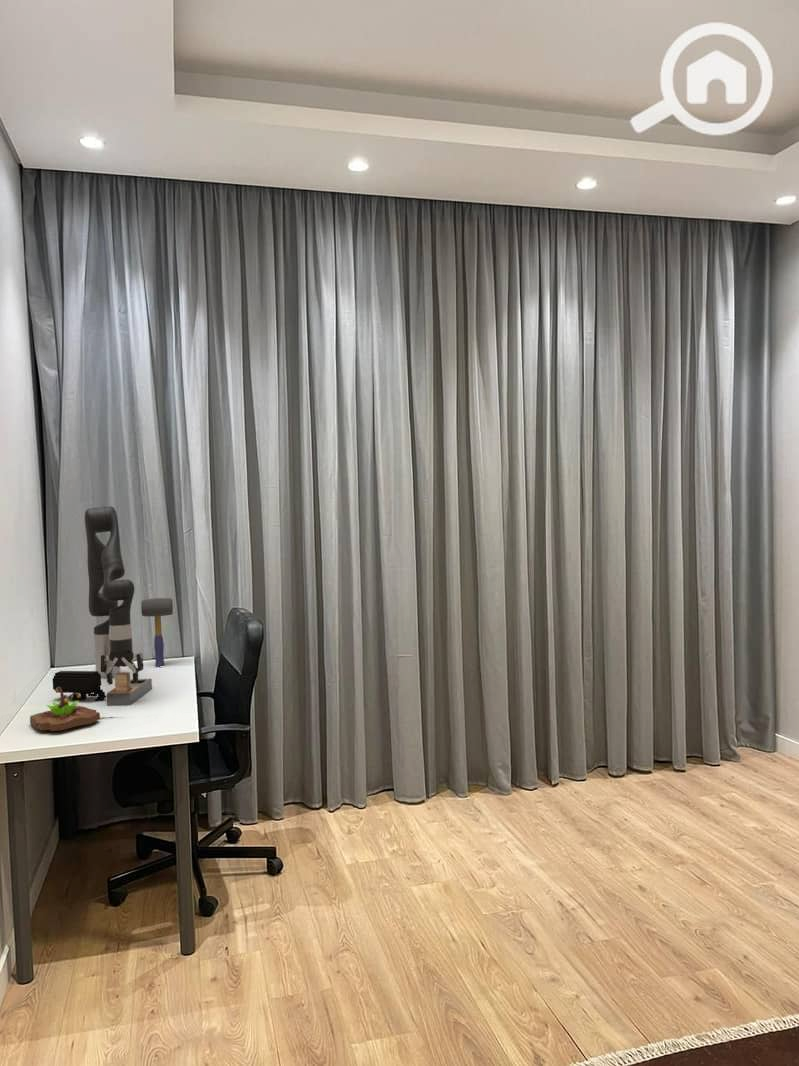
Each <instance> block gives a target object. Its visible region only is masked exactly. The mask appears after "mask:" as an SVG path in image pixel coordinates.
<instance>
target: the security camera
mask: <svg viewBox="0 0 799 1066" xmlns="http://www.w3.org/2000/svg"><path fill="white" fill-rule="evenodd" d="M101 686H102V678H101V675H100V673H98V671H96V670H95V671H94V670H60V671H57V672H55V673H54V675H53V677H52V690H53V691H54V692H55V693H59V694H60V691H59V692H57V691H56V688H57V687H61V689H62V691H63V694H67V693H68V694H72V693H80V694H81V697H79V698H78V697H77V696H76V695H73V696H72V697H71V698H70V699H71V701H85V700H87V699H88V698H87V697H96V698H95V699H94V701H95V702H102V701H104V700H105V699H107V694H106V691H104V689H103V688H101Z"/></svg>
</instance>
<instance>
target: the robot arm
mask: <svg viewBox="0 0 799 1066" xmlns="http://www.w3.org/2000/svg"><path fill="white" fill-rule="evenodd" d="M118 519H119V518H118V514H117V511H116V509H115V507H114V506H99V507H98V506H97V507H90V508H88V509H86V510H85V512H84V525H85V526H84V527H85V532H86V533H85V534H86V542H87V543H86V544H87V546H86V547H87V573H88V575H87V576H88V611H89V615H91V616H92V617H96V618H97V617H108V619H106V620H105V621H104V622H102V623H100V624H98V625H96V626H94V627H93V639H94V640H93V641H94V643H93V644H94V662H95V663H94V665H95V671H98V673H100V675H101V679H106V683H107V684H108V685H113V683H114V679H113V678H115V674H117V673H119V672H121V667H123V668H124V667H125V668H126V667H127V668H128V669H130V670H131V671H132V679H133V684H136V683H137V681H138V680H139V679H140V678H139V673H140V672H141V671H142V670H144V667H145V666H144V659H143V653H142V652H139V653H134V652H133V650H134V649H133V630H132V623H131V620H132V619H131V609H132V608H131V607H132V602H133V598H134V594H135V584H134V583H133V581H132V580H130V579H121V578H123V577H124V576H125V573H126V572H125V565H124V561H123V557H122V551H121V537H120V529H119V527H120V526H119V520H118ZM107 532H110V534H109V537H108V541H107V543H105V544H106V545H105V544H104V543H103V542H102V541H101V540H100V539H99V537H98V535H97V533H107ZM101 589H102V591H101V592H100V590H101ZM119 601H122V603H121V604H120V605H119ZM133 659H135V660H136V662H137V665H136V664H135V661H133Z"/></svg>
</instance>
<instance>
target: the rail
mask: <svg viewBox="0 0 799 1066" xmlns="http://www.w3.org/2000/svg"><path fill="white" fill-rule="evenodd" d="M138 679H139V680H138V681H137V683H136V684H133V678H132V679H131V678H130V683H131V690H129V691H118V692H115V687H114V688H112V689H111V690H109V691H107V692H106V706H108V707H109V706H131V705H132V704H134V703H135V702H137V701H138V700H139V699H141V698H142V697H144V696H145V695H146V694H148V692H150V691H151V690H153V683H152V682H153V680H152V678H138Z"/></svg>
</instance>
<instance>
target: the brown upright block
mask: <svg viewBox="0 0 799 1066" xmlns="http://www.w3.org/2000/svg"><path fill="white" fill-rule="evenodd" d="M130 679H131V672H130V671H126V672H125V671H120V672H119V673H117V674H115V677H114V688H115V692H118V691H129V690H131V683H130Z"/></svg>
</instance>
